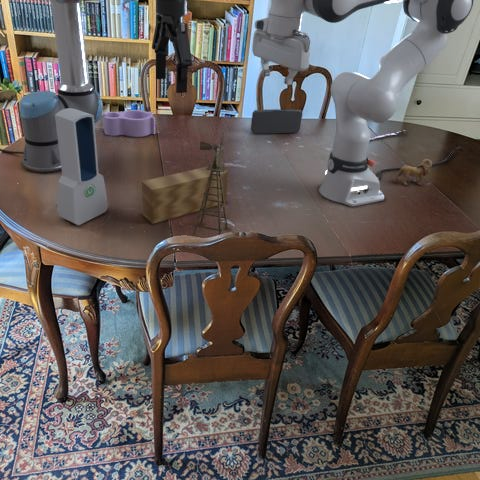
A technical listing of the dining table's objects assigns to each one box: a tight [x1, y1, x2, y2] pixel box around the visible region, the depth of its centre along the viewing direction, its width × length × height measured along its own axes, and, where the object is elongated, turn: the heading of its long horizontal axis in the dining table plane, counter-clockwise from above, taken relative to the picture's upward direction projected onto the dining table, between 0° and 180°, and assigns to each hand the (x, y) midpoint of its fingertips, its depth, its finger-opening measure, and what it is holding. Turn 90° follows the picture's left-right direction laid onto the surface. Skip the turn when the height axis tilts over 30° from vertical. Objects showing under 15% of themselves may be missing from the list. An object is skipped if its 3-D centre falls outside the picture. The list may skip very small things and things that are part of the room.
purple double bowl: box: [102, 109, 156, 138], centre depth 190 cm, size 20×12×7 cm, turn 109°
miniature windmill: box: [192, 132, 229, 237], centre depth 124 cm, size 9×8×30 cm
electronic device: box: [55, 108, 109, 226], centre depth 126 cm, size 12×8×30 cm, turn 148°
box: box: [141, 166, 229, 225], centre depth 140 cm, size 26×6×11 cm, turn 128°
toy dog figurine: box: [392, 158, 433, 186], centre depth 172 cm, size 15×5×9 cm, turn 110°
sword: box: [370, 131, 408, 142], centre depth 215 cm, size 31×3×1 cm, turn 126°
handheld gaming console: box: [250, 108, 303, 135], centre depth 204 cm, size 23×3×10 cm, turn 108°
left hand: (170, 85), depth 125 cm, fingers open, 13 cm apart
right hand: (276, 79), depth 132 cm, fingers open, 8 cm apart
